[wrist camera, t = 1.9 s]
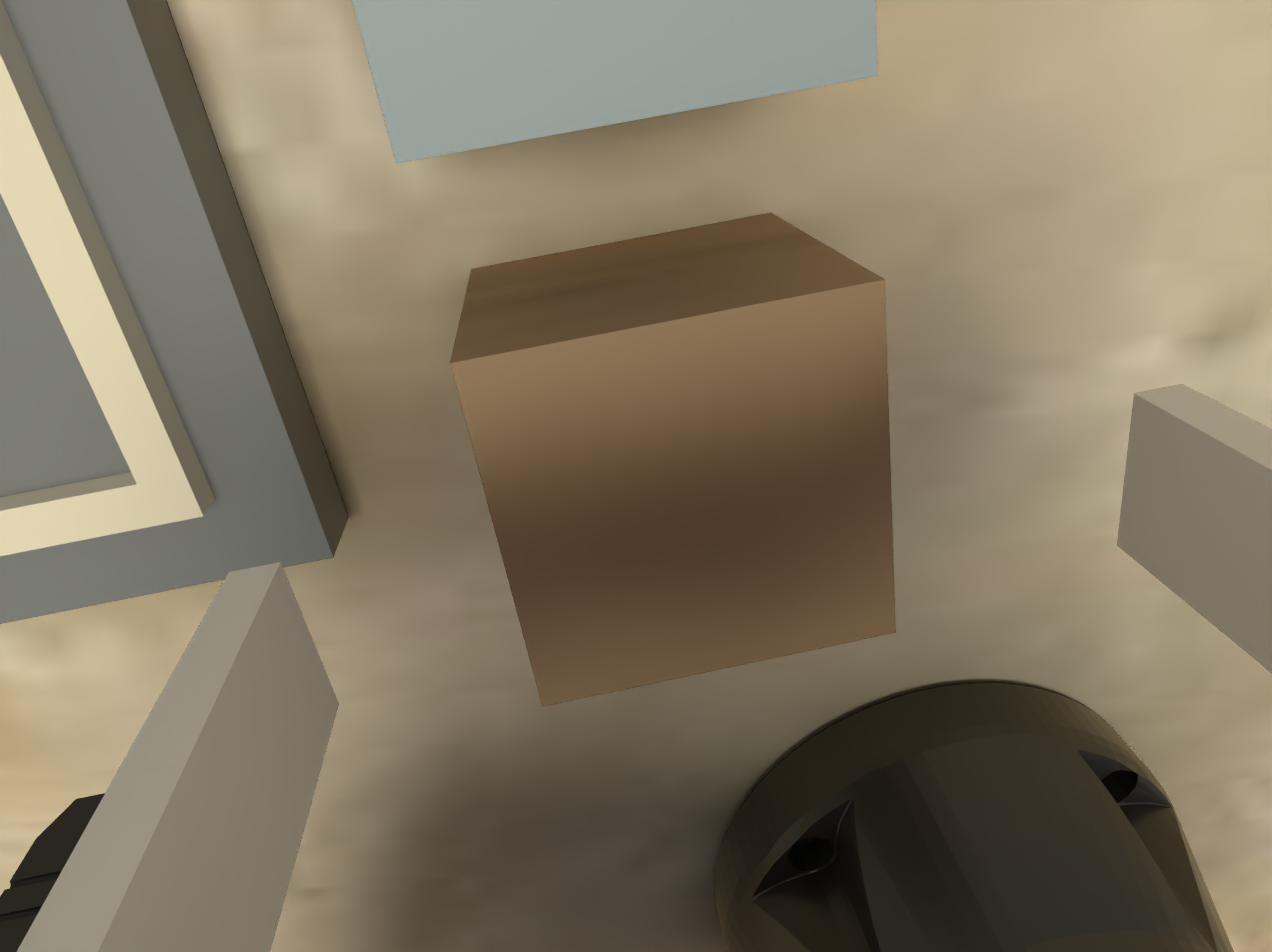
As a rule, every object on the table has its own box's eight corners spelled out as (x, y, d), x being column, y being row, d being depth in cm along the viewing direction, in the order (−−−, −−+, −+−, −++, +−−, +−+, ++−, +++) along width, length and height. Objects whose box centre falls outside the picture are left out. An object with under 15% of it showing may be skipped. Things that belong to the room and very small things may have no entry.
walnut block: (793, 478, 23) (895, 632, 17) (536, 530, 23) (542, 707, 17) (769, 212, 20) (883, 280, 14) (471, 268, 20) (450, 363, 14)
